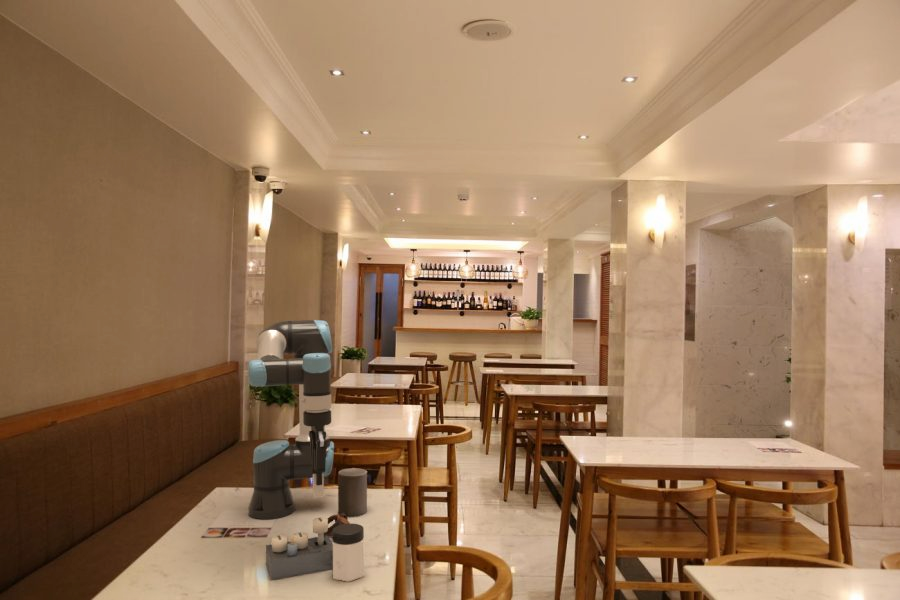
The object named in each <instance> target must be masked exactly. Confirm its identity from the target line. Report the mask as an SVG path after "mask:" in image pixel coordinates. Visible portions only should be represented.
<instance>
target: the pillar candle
mask: <svg viewBox="0 0 900 600" xmlns="http://www.w3.org/2000/svg"><path fill="white" fill-rule="evenodd" d="M337 475H338V477H337V501H338V502H337V507H338V508H337V509H338V510H337V514H338V515H339V514H341V513H344V514H346V516H347V518H354V517H355V516H356V517H360V515H361V516H363V514H364V515H365V514H366V513H367V512H368V509H367V508H368V471H367V470H366V469H364V468H359V467H358V468H356V467H352V468H343V469H341V470H339V471H338V474H337Z"/></svg>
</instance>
